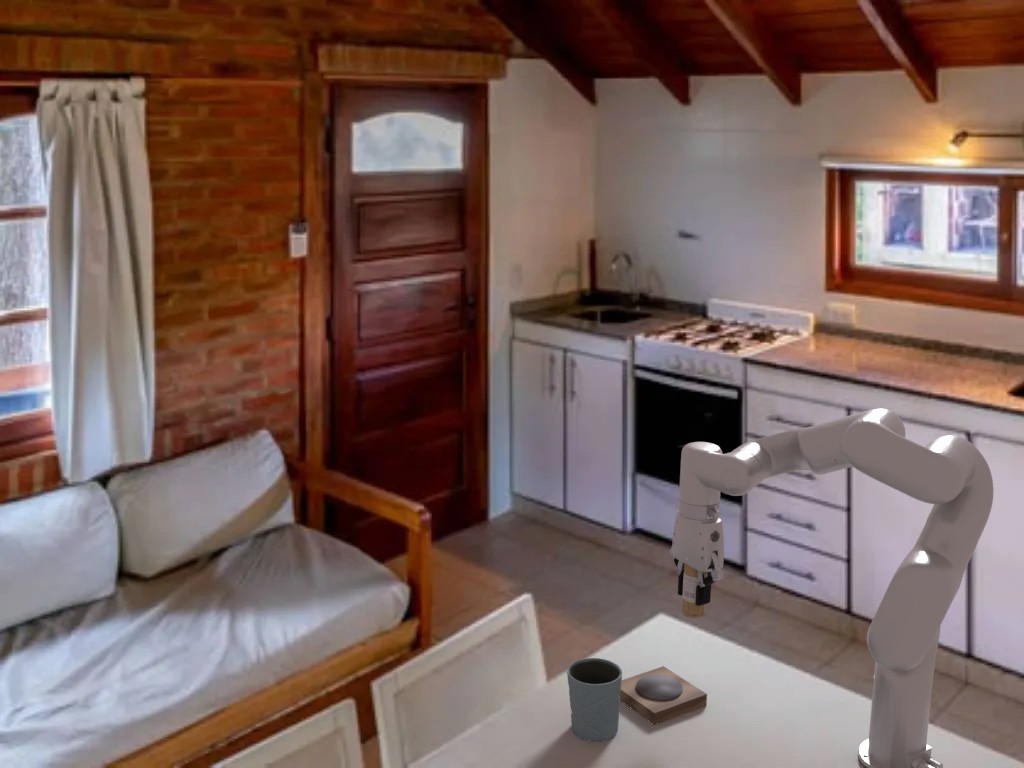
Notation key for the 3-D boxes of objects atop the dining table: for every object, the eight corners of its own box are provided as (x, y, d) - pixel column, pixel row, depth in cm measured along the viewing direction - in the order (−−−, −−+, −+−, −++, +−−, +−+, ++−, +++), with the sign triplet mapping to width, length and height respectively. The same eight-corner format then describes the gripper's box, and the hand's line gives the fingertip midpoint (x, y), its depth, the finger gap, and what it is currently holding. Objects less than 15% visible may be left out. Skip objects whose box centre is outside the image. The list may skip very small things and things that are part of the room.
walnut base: (706, 705, 210) (707, 691, 210) (654, 725, 204) (654, 710, 203) (663, 677, 221) (663, 663, 220) (612, 694, 214) (612, 681, 214)
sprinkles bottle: (710, 615, 207) (714, 549, 204) (692, 621, 205) (695, 554, 201) (693, 606, 211) (697, 541, 207) (675, 612, 208) (679, 546, 205)
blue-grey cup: (617, 746, 197) (619, 687, 194) (562, 740, 199) (563, 681, 196) (623, 717, 206) (624, 660, 203) (570, 711, 208) (571, 654, 205)
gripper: (745, 519, 197) (739, 611, 202) (685, 491, 211) (680, 578, 216) (714, 526, 193) (708, 620, 198) (654, 498, 207) (650, 586, 212)
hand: (693, 597), depth 207 cm, fingers closed on sprinkles bottle, 4 cm apart
